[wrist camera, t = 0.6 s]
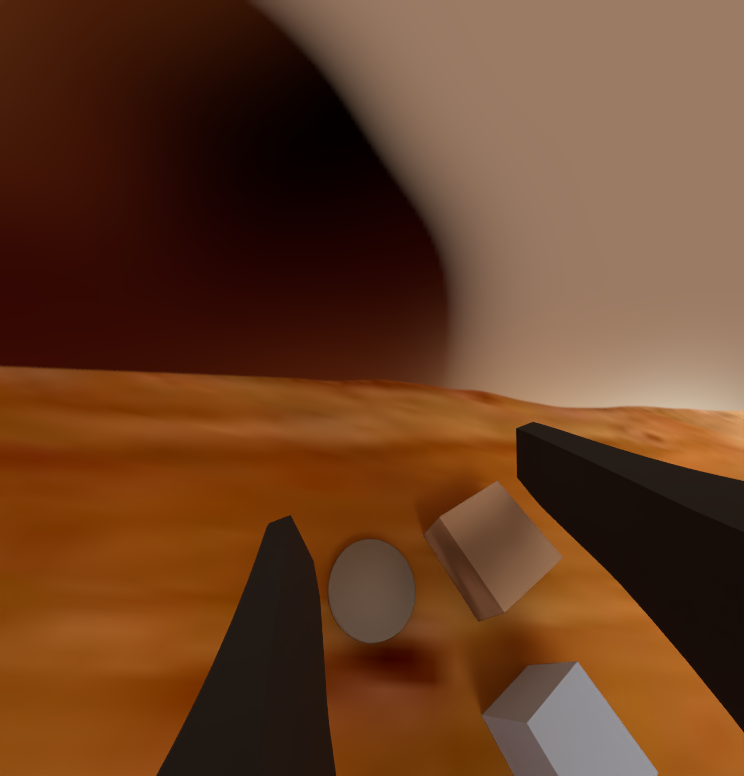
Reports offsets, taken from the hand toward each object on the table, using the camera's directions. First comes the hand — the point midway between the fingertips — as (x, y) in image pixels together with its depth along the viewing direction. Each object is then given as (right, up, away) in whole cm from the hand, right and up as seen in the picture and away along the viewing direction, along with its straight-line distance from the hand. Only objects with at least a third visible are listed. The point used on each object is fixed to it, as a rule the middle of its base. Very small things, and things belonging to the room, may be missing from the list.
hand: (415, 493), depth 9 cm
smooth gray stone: (-1, -11, +13) cm, 17 cm away
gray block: (+8, -17, +9) cm, 21 cm away
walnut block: (+7, -10, +16) cm, 20 cm away
